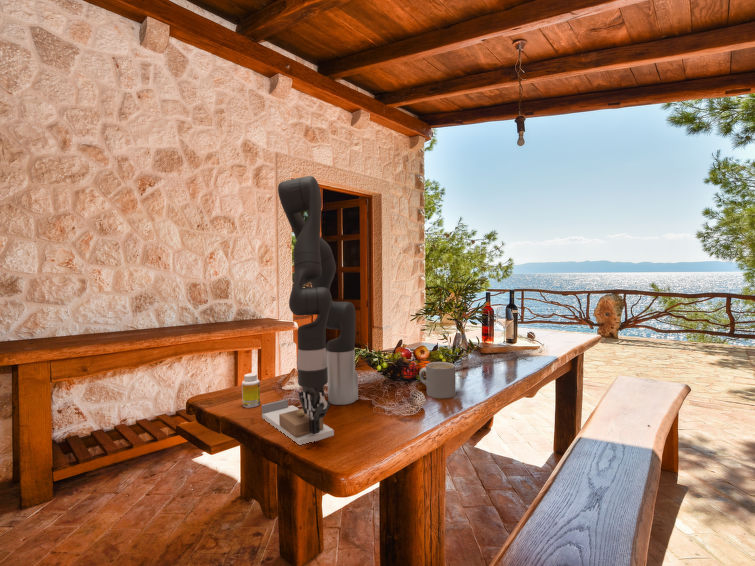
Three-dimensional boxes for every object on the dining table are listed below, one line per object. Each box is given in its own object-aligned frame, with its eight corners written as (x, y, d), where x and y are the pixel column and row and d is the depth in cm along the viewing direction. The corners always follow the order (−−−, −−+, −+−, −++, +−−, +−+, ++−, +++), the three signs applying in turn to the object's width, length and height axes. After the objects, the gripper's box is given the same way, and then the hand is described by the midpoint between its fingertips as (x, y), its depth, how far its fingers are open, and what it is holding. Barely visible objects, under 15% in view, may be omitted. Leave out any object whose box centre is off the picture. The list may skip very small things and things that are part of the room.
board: (292, 409, 124) (292, 397, 124) (333, 435, 104) (333, 420, 104) (261, 417, 118) (261, 404, 118) (299, 446, 98) (299, 431, 98)
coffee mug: (461, 393, 136) (461, 365, 136) (442, 400, 130) (442, 370, 130) (432, 385, 147) (432, 359, 146) (413, 391, 140) (413, 363, 140)
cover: (305, 418, 113) (305, 404, 113) (323, 428, 105) (322, 413, 105) (279, 425, 108) (279, 410, 108) (295, 437, 100) (295, 421, 100)
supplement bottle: (261, 406, 128) (260, 375, 128) (243, 409, 126) (242, 377, 125) (258, 401, 133) (257, 371, 133) (241, 404, 131) (240, 373, 130)
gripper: (339, 367, 97) (341, 436, 98) (313, 358, 108) (315, 421, 108) (311, 373, 92) (314, 445, 93) (287, 363, 103) (289, 428, 104)
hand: (314, 432), depth 101 cm, fingers closed
